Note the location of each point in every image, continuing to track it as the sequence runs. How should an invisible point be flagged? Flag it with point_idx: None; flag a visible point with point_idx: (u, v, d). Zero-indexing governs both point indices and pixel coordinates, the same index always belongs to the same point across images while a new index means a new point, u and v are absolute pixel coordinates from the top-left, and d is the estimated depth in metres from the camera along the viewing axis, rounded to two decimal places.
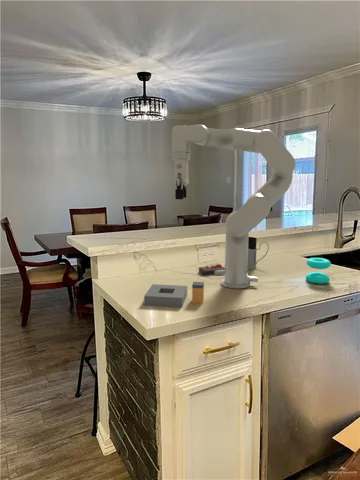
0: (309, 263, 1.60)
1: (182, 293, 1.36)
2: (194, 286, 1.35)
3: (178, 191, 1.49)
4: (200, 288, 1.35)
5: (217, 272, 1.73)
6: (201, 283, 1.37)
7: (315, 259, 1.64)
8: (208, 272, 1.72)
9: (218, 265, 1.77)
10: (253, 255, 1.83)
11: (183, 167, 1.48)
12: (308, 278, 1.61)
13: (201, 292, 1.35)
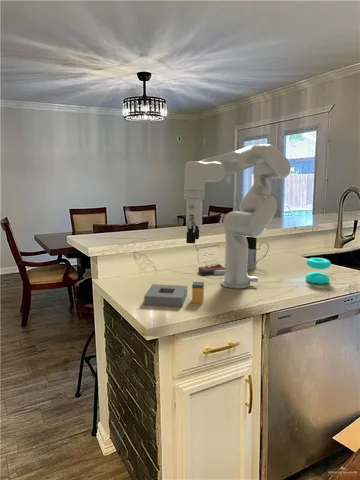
0: (309, 263, 1.60)
1: (182, 293, 1.36)
2: (194, 286, 1.35)
3: (189, 234, 1.32)
4: (200, 288, 1.35)
5: (217, 272, 1.73)
6: (201, 283, 1.37)
7: (315, 259, 1.64)
8: (208, 272, 1.72)
9: (218, 265, 1.77)
10: (253, 255, 1.83)
11: (196, 208, 1.31)
12: (308, 278, 1.61)
13: (201, 292, 1.35)
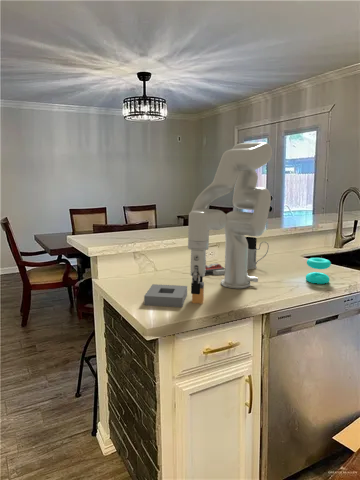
0: (309, 263, 1.60)
1: (182, 293, 1.36)
2: None
3: (194, 285, 1.31)
4: (200, 288, 1.35)
5: (216, 272, 1.73)
6: (201, 283, 1.37)
7: (315, 259, 1.64)
8: (207, 272, 1.73)
9: (217, 265, 1.77)
10: (253, 255, 1.83)
11: (201, 259, 1.30)
12: (308, 278, 1.61)
13: (201, 292, 1.35)
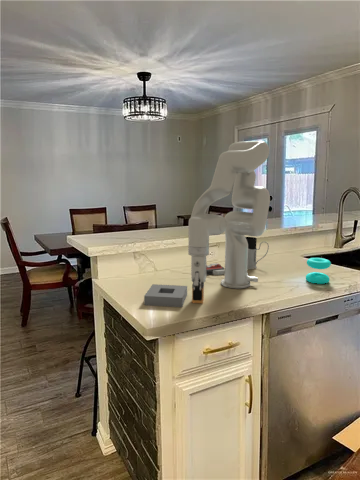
0: (309, 263, 1.60)
1: (182, 293, 1.36)
2: None
3: (196, 292, 1.34)
4: None
5: (216, 272, 1.73)
6: (201, 283, 1.37)
7: (315, 259, 1.64)
8: (207, 272, 1.73)
9: (217, 265, 1.77)
10: (253, 255, 1.83)
11: (201, 265, 1.31)
12: (308, 278, 1.61)
13: None
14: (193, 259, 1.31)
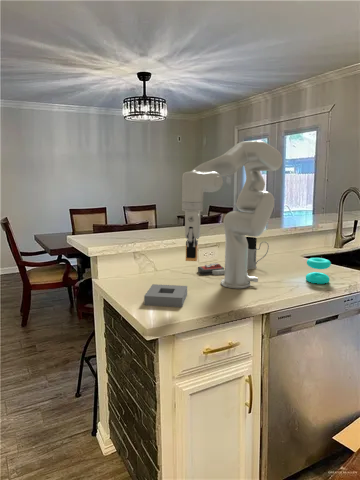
0: (309, 263, 1.60)
1: (182, 293, 1.36)
2: None
3: (190, 249, 1.31)
4: None
5: (215, 272, 1.73)
6: (195, 241, 1.34)
7: (315, 259, 1.64)
8: (206, 272, 1.73)
9: (217, 265, 1.77)
10: (253, 255, 1.83)
11: (195, 220, 1.28)
12: (308, 278, 1.61)
13: None
14: (187, 214, 1.28)
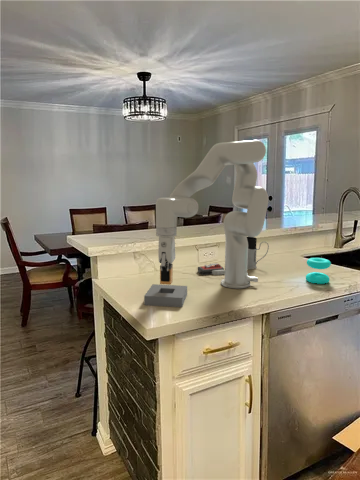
0: (309, 263, 1.60)
1: (182, 293, 1.36)
2: None
3: (164, 273, 1.35)
4: None
5: (215, 272, 1.73)
6: (169, 264, 1.37)
7: (315, 259, 1.64)
8: (206, 272, 1.73)
9: (217, 265, 1.77)
10: (253, 255, 1.83)
11: (168, 245, 1.31)
12: (308, 278, 1.61)
13: None
14: (160, 240, 1.32)
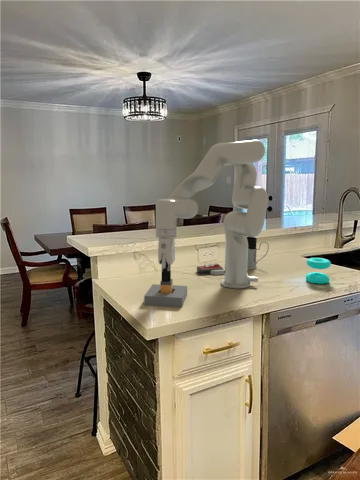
0: (309, 263, 1.60)
1: (182, 293, 1.36)
2: (162, 283, 1.37)
3: (164, 273, 1.36)
4: (168, 285, 1.37)
5: (213, 272, 1.73)
6: None
7: (315, 259, 1.64)
8: (204, 271, 1.73)
9: (216, 265, 1.77)
10: (253, 255, 1.83)
11: (168, 247, 1.31)
12: (308, 278, 1.61)
13: (169, 289, 1.37)
14: (160, 241, 1.32)
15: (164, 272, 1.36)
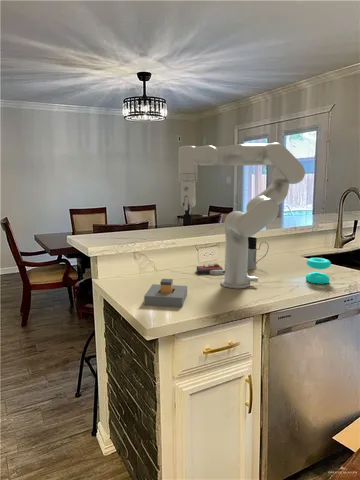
0: (309, 263, 1.60)
1: (182, 293, 1.36)
2: (162, 283, 1.37)
3: (186, 216, 1.47)
4: (168, 285, 1.37)
5: (213, 272, 1.73)
6: (169, 280, 1.39)
7: (315, 259, 1.64)
8: (203, 271, 1.74)
9: (215, 265, 1.77)
10: (253, 255, 1.83)
11: (190, 189, 1.41)
12: (308, 278, 1.61)
13: (169, 289, 1.37)
14: (182, 184, 1.42)
15: (186, 215, 1.47)
